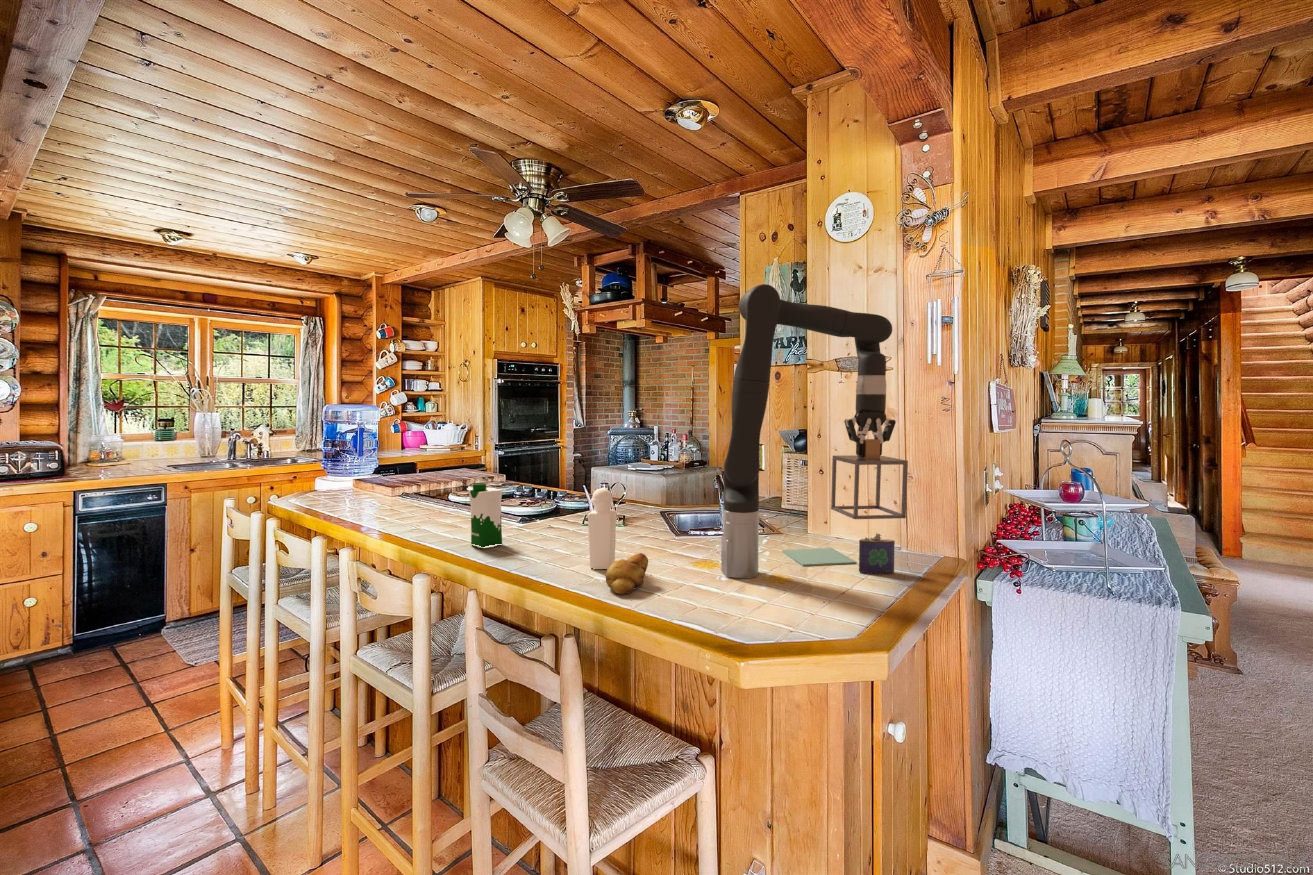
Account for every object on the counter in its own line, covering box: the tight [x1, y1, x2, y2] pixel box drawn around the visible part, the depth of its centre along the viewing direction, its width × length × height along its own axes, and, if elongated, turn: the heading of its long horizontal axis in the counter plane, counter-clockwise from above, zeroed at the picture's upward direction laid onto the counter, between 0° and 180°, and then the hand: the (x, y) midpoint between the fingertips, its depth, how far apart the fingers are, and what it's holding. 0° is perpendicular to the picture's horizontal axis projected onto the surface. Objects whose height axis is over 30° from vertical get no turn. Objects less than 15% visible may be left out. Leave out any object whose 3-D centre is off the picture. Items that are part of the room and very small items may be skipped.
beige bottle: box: [587, 487, 617, 569], centre depth 163 cm, size 6×6×22 cm
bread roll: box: [605, 552, 649, 595], centre depth 145 cm, size 13×10×8 cm
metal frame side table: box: [830, 438, 909, 520], centre depth 158 cm, size 14×14×20 cm
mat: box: [781, 547, 858, 567], centre depth 173 cm, size 16×16×1 cm
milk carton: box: [468, 482, 503, 547], centre depth 187 cm, size 9×9×20 cm
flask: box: [858, 533, 896, 575], centre depth 157 cm, size 9×3×11 cm, turn 88°
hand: (868, 457), depth 158 cm, fingers closed on metal frame side table, 4 cm apart
